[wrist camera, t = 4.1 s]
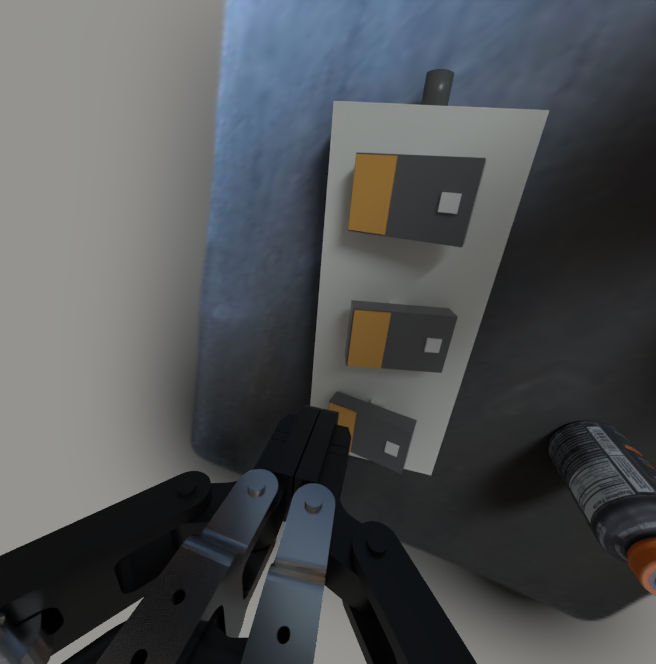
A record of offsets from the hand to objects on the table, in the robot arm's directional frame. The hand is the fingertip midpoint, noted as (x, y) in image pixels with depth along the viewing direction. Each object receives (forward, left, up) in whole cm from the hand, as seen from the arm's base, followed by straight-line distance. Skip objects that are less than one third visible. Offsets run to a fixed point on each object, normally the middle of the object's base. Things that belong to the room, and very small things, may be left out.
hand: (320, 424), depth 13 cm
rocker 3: (-3, +9, -12) cm, 15 cm away
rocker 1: (-2, -9, -11) cm, 15 cm away
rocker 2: (-3, 0, -11) cm, 12 cm away
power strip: (-3, 0, -16) cm, 16 cm away
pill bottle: (-22, +10, -17) cm, 29 cm away
